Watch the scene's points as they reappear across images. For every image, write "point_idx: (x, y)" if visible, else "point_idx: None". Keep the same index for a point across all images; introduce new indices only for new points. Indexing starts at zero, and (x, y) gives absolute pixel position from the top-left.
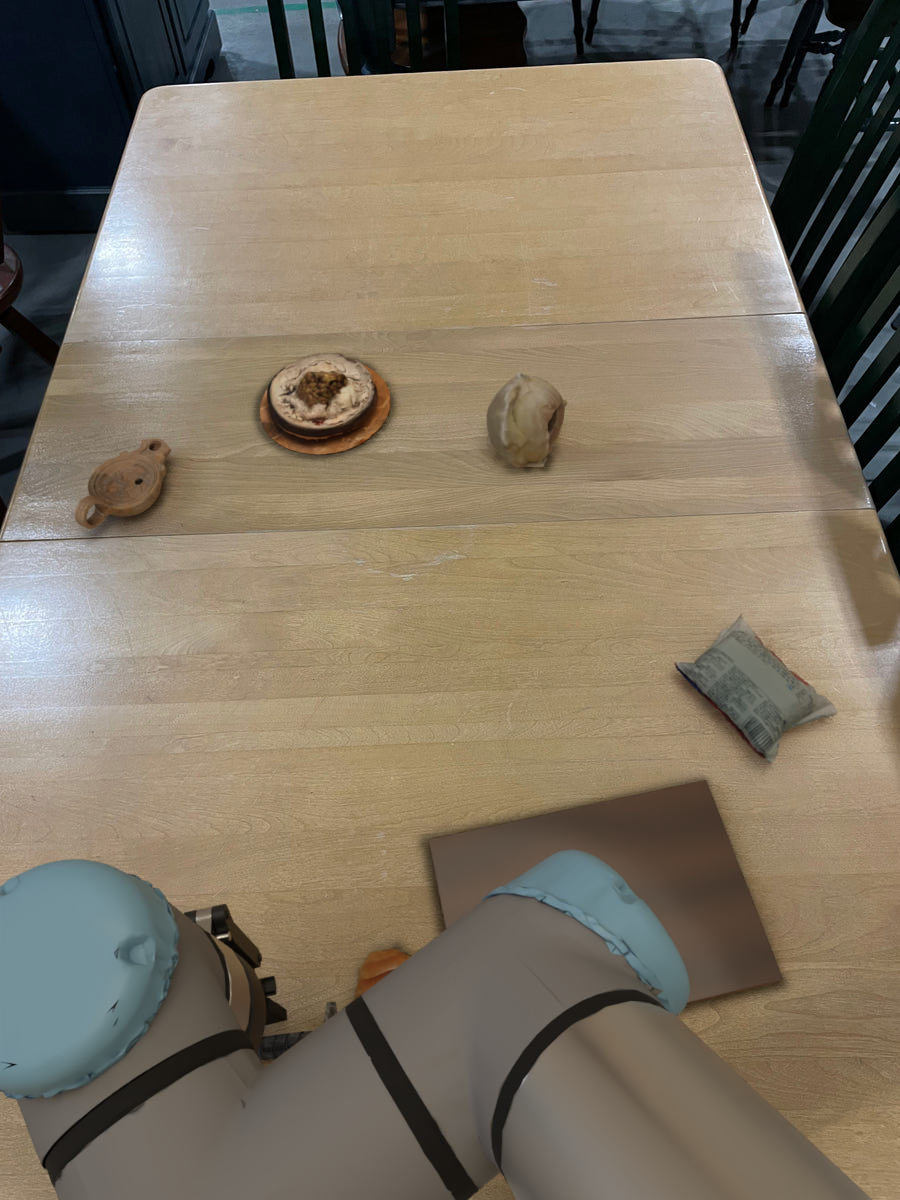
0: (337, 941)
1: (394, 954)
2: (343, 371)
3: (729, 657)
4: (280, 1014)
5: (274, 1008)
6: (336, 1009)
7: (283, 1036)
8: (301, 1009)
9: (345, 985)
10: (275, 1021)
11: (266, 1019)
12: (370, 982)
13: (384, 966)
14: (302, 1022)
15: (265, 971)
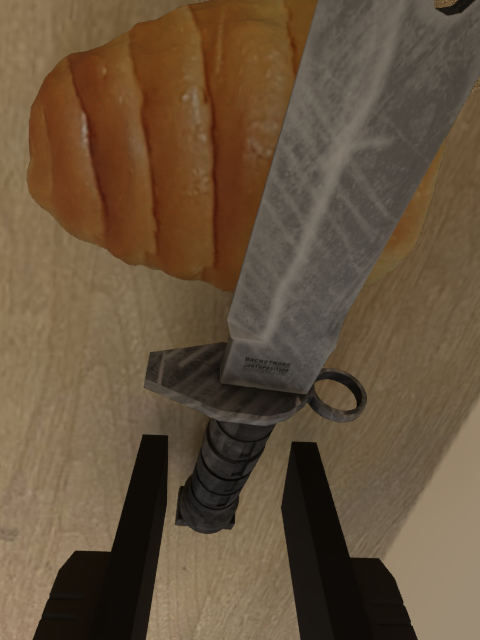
0: (7, 271)
1: (42, 114)
2: None
3: None
4: (150, 506)
5: (125, 590)
6: (173, 353)
7: (205, 474)
8: None
9: (118, 272)
10: (164, 472)
11: (155, 534)
12: (116, 219)
13: (73, 160)
14: None
15: (58, 430)
